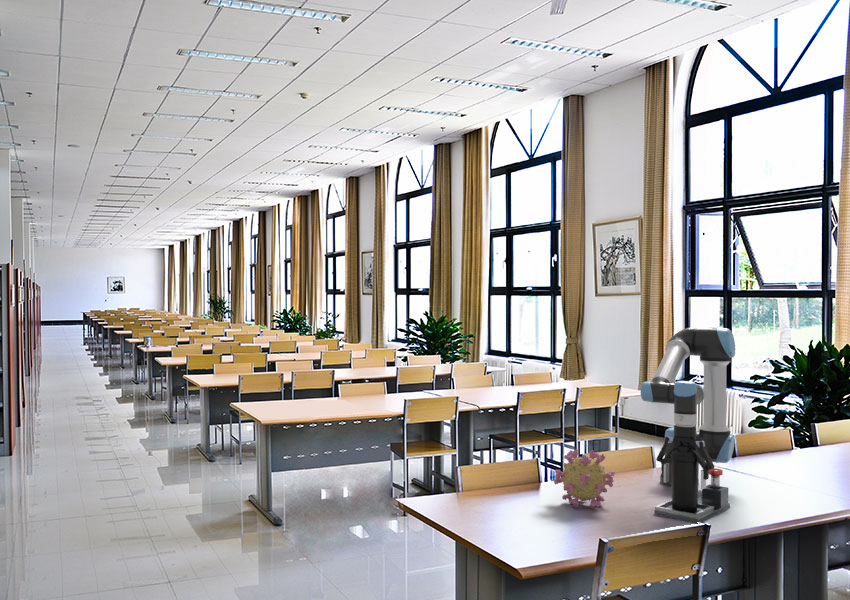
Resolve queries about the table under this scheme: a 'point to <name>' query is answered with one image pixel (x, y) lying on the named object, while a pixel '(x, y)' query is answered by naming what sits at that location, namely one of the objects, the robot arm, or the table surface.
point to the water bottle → (684, 479)
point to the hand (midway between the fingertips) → (684, 485)
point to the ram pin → (715, 478)
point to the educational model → (584, 478)
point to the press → (698, 506)
